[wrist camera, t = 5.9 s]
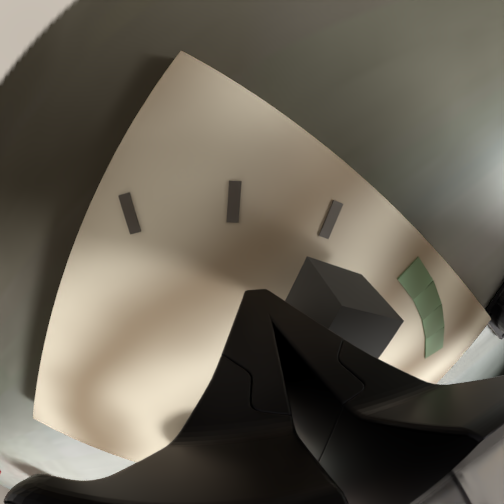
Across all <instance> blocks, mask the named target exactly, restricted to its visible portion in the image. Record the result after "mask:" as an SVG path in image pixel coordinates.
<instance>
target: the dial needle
mask: <svg viewBox="0 0 504 504" xmlns="http://www.w3.org/2000/svg"><path fill="white" fill-rule="evenodd" d="M285 301H286V302H287V303H289V304H290V305H292V306H294V307H295V308H297V309H298V310H300V311H301V312H303V313H304V314H306V315H307V316H309V317H311V318H312V319H314V320H315V321H317V322H318V323H320V324H321V325H323V326H325V327H326V328H328V329H329V330H331V331H332V332H334V333H336V334H337V335H339V336H340V337H342V338H343V340H344V339H345V340H347V341H348V342H350V343H352V344H353V345H355V346H356V347H358V348H360V349H361V350H363V351H365V352H367V353H368V354H370V355H372V356H374V357H376V358H379V357H380V356H381V354H382V353H383V351H384V350H385V349H386V347H387V346H388V344H389V343H390V341H391V340H392V338H393V337H394V336H395V334H396V333H397V331H398V329H399V328H400V326H401V325H402V323H403V322H404V320H403V319H402V318H401V317H400V316H399V315H398V314H397V312H396V311H395V310H394V309H393V308H392V307H391V306H390V305H389V303H388V302H387V301H386V300H385V299H384V298H383V297H382V296H381V295H380V294H379V292H378V291H377V290H376V289H375V288H374V287H373V286H372V285H371V284H370V283H369V282H368V281H367V280H366V278H365V277H364V276H363V275H362V274H359V273H356V272H353V271H350V270H347V269H344V268H341V267H338V266H335V265H332V264H329V263H326V262H323V261H320V260H317V259H314V258H311V257H308V256H307V257H306V259H305V261H304V263H303V265H302V267H301V269H300V271H299V274H298V276H297V278H296V280H295V282H294V284H293V286H292V288H291V290H290V292H289V294H288V296H287V298H286V300H285Z"/></svg>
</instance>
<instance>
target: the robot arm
mask: <svg viewBox="0 0 504 504" xmlns="http://www.w3.org/2000/svg"><path fill="white" fill-rule="evenodd" d="M485 311H486V312H487V313H488V315H489V316H490V318H491V320H490V321H489V323H488V325H489V326H490V327H491V328H492V330H493V331H494V332H495V334H496V335H497V336H498V337H499V338H500V339H503V338H504V283H503V285H502V286H501V288H500V290H499V291H498V293H497V294H496V295H495V297H494V298H493V300H492V301H491V303H490V304H489V306H488V307H487V308H486V310H485ZM4 503H5V504H504V375H503V376H498V377H493V378H488V379H483V380H477V381H471V382H464V383H457V384H450V385H438V384H432V383H429V382H426V381H423V380H421V379H419V378H417V377H415V376H412V375H410V374H408V373H406V372H404V371H402V370H400V369H398V368H396V367H394V366H392V365H390V364H388V363H386V362H384V361H382V360H380V359H378V358H376V357H374V356H372V355H370V354H368V353H367V352H365V351H363V350H361V349H360V348H358V347H356V346H355V345H353V344H352V343H350V342H348V341H347V340H345V339H344V340H343V338H342V337H340V336H339V335H337V334H336V333H334V332H332V331H331V330H329V329H328V328H326V327H325V326H323V325H321V324H320V323H318V322H317V321H315V320H314V319H312V318H311V317H309V316H307V315H306V314H304V313H303V312H301V311H300V310H298V309H297V308H295V307H294V306H292V305H290V304H289V303H287V302H286V301H284V300H283V299H281V298H280V297H278V296H277V295H275V294H274V293H272V292H271V291H269V290H267V289H256V290H246V291H245V292H244V295H243V298H242V300H241V303H240V306H239V309H238V311H237V314H236V317H235V319H234V322H233V325H232V327H231V330H230V333H229V336H228V338H227V341H226V344H225V346H224V349H223V352H222V354H221V357H220V359H219V362H218V365H217V367H216V369H215V372H214V374H213V376H212V379H211V380H210V382H209V384H208V386H207V388H206V390H205V391H204V393H203V395H202V396H201V398H200V400H199V401H198V403H197V405H196V406H195V408H194V410H193V411H192V413H191V414H190V416H189V418H188V419H187V421H186V422H185V424H184V426H183V427H182V429H181V430H180V432H179V433H178V435H177V436H176V437H175V438H174V439H173V440H172V442H171V443H169V444H168V445H167V446H166V447H164V448H162V449H161V450H159V451H157V452H155V453H154V454H152V455H150V456H148V457H146V458H144V459H143V460H141V461H139V462H137V463H135V464H133V465H131V466H129V467H127V468H125V469H123V470H121V471H119V472H117V473H115V474H113V475H111V476H108V477H105V478H102V479H97V480H89V481H78V480H70V479H65V478H61V477H56V476H51V475H46V474H36V475H33V476H31V477H29V478H27V479H25V480H23V481H21V482H20V483H18V484H17V485H15V486H14V487H13V488H12V489H11V490H10V491H9V492H8V494H7V495H6V497H5V499H4Z"/></svg>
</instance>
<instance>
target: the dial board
mask: <svg viewBox="0 0 504 504" xmlns="http://www.w3.org/2000/svg"><path fill="white" fill-rule="evenodd" d="M307 256H308V257H311V258H314V259H317V260H320V261H323V262H326V263H329V264H332V265H335V266H338V267H341V268H344V269H347V270H350V271H353V272H356V273H359V274H362V275H363V276H364V277H365V278H366V280H367V281H368V282H369V283H370V284H371V285H372V286H373V287H374V288H375V289H376V290H377V291H378V292H379V294H380V295H381V296H382V297H383V298H384V299H385V300H386V301H387V302H388V303H389V305H390V306H391V307H392V308H393V309H394V310H395V311H396V312H397V314H398V315H399V316H400V317H401V318H402V319H403V320H404V322H403V323H402V325H401V326H400V328H399V329H398V331H397V333H396V334H395V336H394V337H393V338H392V340H391V341H390V343H389V344H388V346H387V347H386V349H385V350H384V351H383V353H382V354H381V356H380V357H379V358H378V359H380V360H382V361H384V362H386V363H388V364H390V365H392V366H394V367H396V368H398V369H400V370H402V371H404V372H406V373H408V374H410V375H412V376H415V377H417V378H419V379H421V380H423V381H426V382H429V383H432V384H436V383H437V382H438V381H439V380H440V379H441V378H442V377H443V376H444V375H445V374H446V373H447V372H448V371H449V370H450V369H451V367H452V366H453V365H454V364H455V363H456V362H457V361H458V360H459V359H460V357H461V356H462V355H463V354H464V353H465V352H466V350H467V349H468V348H469V347H470V346H471V344H472V343H473V342H474V341H475V339H476V338H477V337H478V336H479V334H480V333H481V332H482V331H483V329H484V328H485V327H486V325H487V324H488V323H489V321H490V320H491V318H490V316H489V315H488V313H487V312H486V311H485V309H484V308H483V307H482V305H481V304H480V303H479V301H478V300H477V299H476V298H475V296H474V295H473V294H472V292H471V291H470V290H469V289H468V287H467V286H466V285H465V284H464V282H463V281H462V280H461V279H460V278H459V276H458V275H457V274H456V273H455V272H454V270H453V269H452V268H451V267H450V266H449V264H448V263H447V262H446V261H445V260H444V259H443V258H442V256H441V255H440V254H439V253H438V252H437V251H436V250H435V249H434V248H433V246H432V245H431V244H430V243H429V242H428V241H427V240H426V239H425V238H424V237H423V236H422V235H421V234H420V232H419V231H418V230H417V229H416V228H415V227H414V226H413V225H412V224H411V223H410V222H409V221H408V220H407V219H406V218H405V217H404V216H403V215H402V214H401V213H400V212H399V211H398V210H397V209H396V208H395V207H394V206H393V205H392V204H391V203H390V202H389V201H388V200H387V199H385V198H384V197H383V196H382V195H381V194H380V193H379V192H378V191H377V190H376V189H375V188H374V187H373V186H371V185H370V184H369V183H368V182H367V181H366V180H365V179H364V178H363V177H361V176H360V175H359V174H358V173H357V172H356V171H355V170H353V169H352V168H351V167H350V166H349V165H348V164H346V163H345V162H344V161H343V160H342V159H341V158H339V157H338V156H337V155H336V154H335V153H333V152H332V151H331V150H330V149H328V148H327V147H326V146H325V145H323V144H322V143H321V142H320V141H318V140H317V139H316V138H315V137H313V136H312V135H311V134H309V133H308V132H307V131H306V130H304V129H303V128H302V127H300V126H299V125H298V124H296V123H295V122H294V121H292V120H291V119H289V118H288V117H287V116H285V115H284V114H282V113H281V112H280V111H278V110H277V109H275V108H274V107H273V106H271V105H270V104H268V103H267V102H265V101H264V100H262V99H261V98H259V97H258V96H256V95H255V94H253V93H252V92H250V91H249V90H247V89H246V88H244V87H243V86H241V85H240V84H238V83H236V82H235V81H233V80H232V79H230V78H228V77H227V76H225V75H223V74H222V73H220V72H218V71H217V70H215V69H213V68H212V67H210V66H208V65H206V64H205V63H203V62H201V61H199V60H198V59H196V58H194V57H192V56H190V55H189V54H187V53H185V52H183V51H180V53H179V54H178V55H177V56H176V58H175V59H174V61H173V62H172V63H171V65H170V66H169V67H168V69H167V70H166V72H165V73H164V74H163V76H162V77H161V79H160V80H159V82H158V83H157V84H156V86H155V87H154V89H153V90H152V92H151V93H150V95H149V96H148V98H147V100H146V101H145V103H144V104H143V106H142V107H141V109H140V111H139V112H138V114H137V116H136V117H135V119H134V120H133V122H132V124H131V126H130V127H129V129H128V131H127V132H126V134H125V136H124V138H123V139H122V141H121V143H120V145H119V147H118V149H117V150H116V152H115V154H114V156H113V158H112V160H111V162H110V164H109V166H108V168H107V170H106V172H105V174H104V176H103V178H102V180H101V182H100V184H99V186H98V188H97V190H96V192H95V195H94V197H93V199H92V201H91V203H90V206H89V208H88V210H87V213H86V215H85V217H84V220H83V222H82V225H81V227H80V230H79V232H78V235H77V237H76V240H75V242H74V245H73V248H72V250H71V253H70V256H69V259H68V262H67V265H66V268H65V270H64V274H63V277H62V280H61V283H60V286H59V289H58V293H57V296H56V299H55V303H54V307H53V310H52V314H51V318H50V322H49V326H48V330H47V334H46V338H45V343H44V348H43V352H42V357H41V363H40V368H39V374H38V380H37V387H36V394H35V401H34V410H33V418H34V419H36V420H37V421H39V422H41V423H43V424H45V425H47V426H49V427H51V428H53V429H55V430H57V431H59V432H61V433H63V434H65V435H67V436H69V437H72V438H74V439H76V440H78V441H81V442H83V443H85V444H88V445H90V446H93V447H95V448H98V449H100V450H103V451H105V452H108V453H111V454H113V455H116V456H119V457H122V458H125V459H128V460H131V461H134V462H139V461H141V460H143V459H144V458H146V457H148V456H150V455H152V454H154V453H155V452H157V451H159V450H161V449H162V448H164V447H166V446H167V445H168V444H169V443H171V442H172V440H173V439H174V438H175V437H176V436H177V435H178V433H179V432H180V430H181V429H182V427H183V426H184V424H185V422H186V421H187V419H188V418H189V416H190V414H191V413H192V411H193V410H194V408H195V406H196V405H197V403H198V401H199V400H200V398H201V396H202V395H203V393H204V391H205V390H206V388H207V386H208V384H209V382H210V380H211V379H212V376H213V374H214V372H215V369H216V367H217V365H218V362H219V359H220V357H221V354H222V352H223V349H224V346H225V344H226V341H227V338H228V336H229V333H230V330H231V327H232V325H233V322H234V319H235V317H236V314H237V311H238V309H239V306H240V303H241V300H242V298H243V295H244V292H245V291H246V290H256V289H267V290H269V291H271V292H272V293H274V294H275V295H277V296H278V297H280V298H281V299H283V300H284V301H285V300H286V298H287V296H288V294H289V292H290V290H291V288H292V286H293V284H294V282H295V280H296V278H297V276H298V274H299V271H300V269H301V267H302V265H303V263H304V261H305V259H306V257H307Z"/></svg>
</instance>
